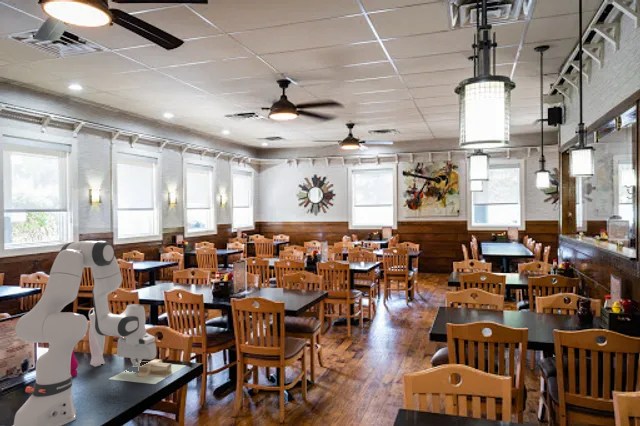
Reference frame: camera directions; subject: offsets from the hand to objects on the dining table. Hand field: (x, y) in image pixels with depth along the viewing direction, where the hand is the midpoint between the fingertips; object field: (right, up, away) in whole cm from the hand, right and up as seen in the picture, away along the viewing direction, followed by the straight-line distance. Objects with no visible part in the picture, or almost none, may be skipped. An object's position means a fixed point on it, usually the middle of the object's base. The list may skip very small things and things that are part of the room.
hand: (136, 366), depth 213 cm
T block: (+11, -2, -3) cm, 12 cm away
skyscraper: (-24, -3, +11) cm, 27 cm away
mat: (+7, -2, -2) cm, 7 cm away
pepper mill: (-30, -3, -4) cm, 30 cm away
